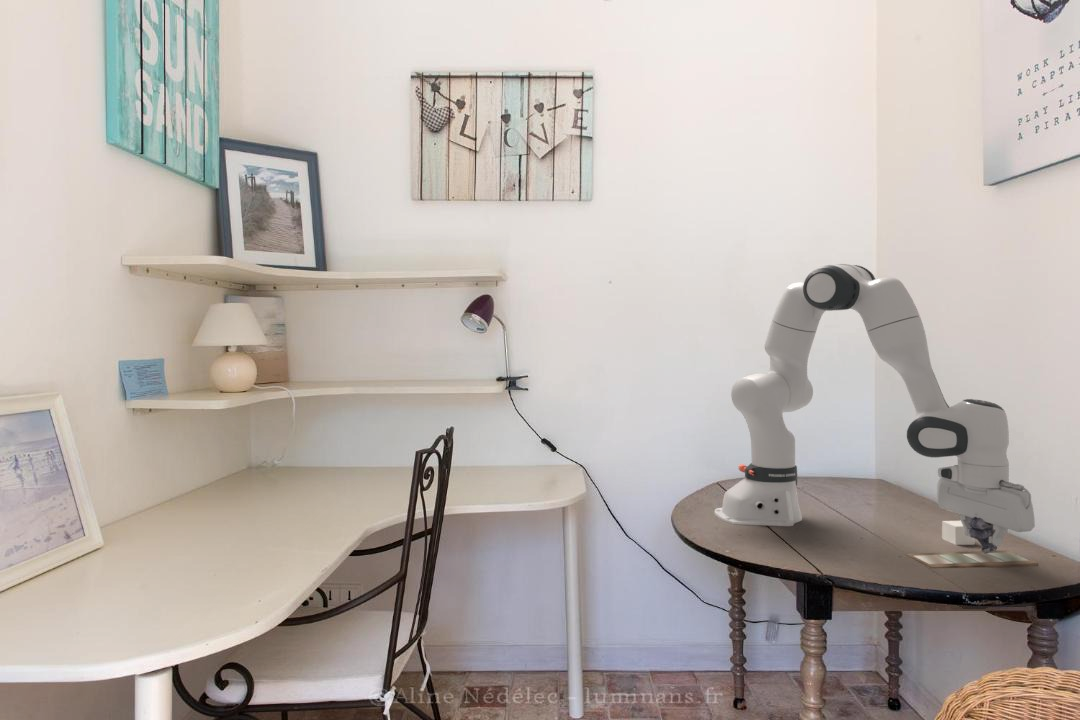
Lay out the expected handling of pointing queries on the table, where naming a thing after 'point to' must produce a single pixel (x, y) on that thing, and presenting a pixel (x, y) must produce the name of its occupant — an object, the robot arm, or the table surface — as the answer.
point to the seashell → (982, 533)
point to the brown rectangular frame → (972, 559)
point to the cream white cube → (956, 533)
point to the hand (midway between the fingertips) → (982, 540)
